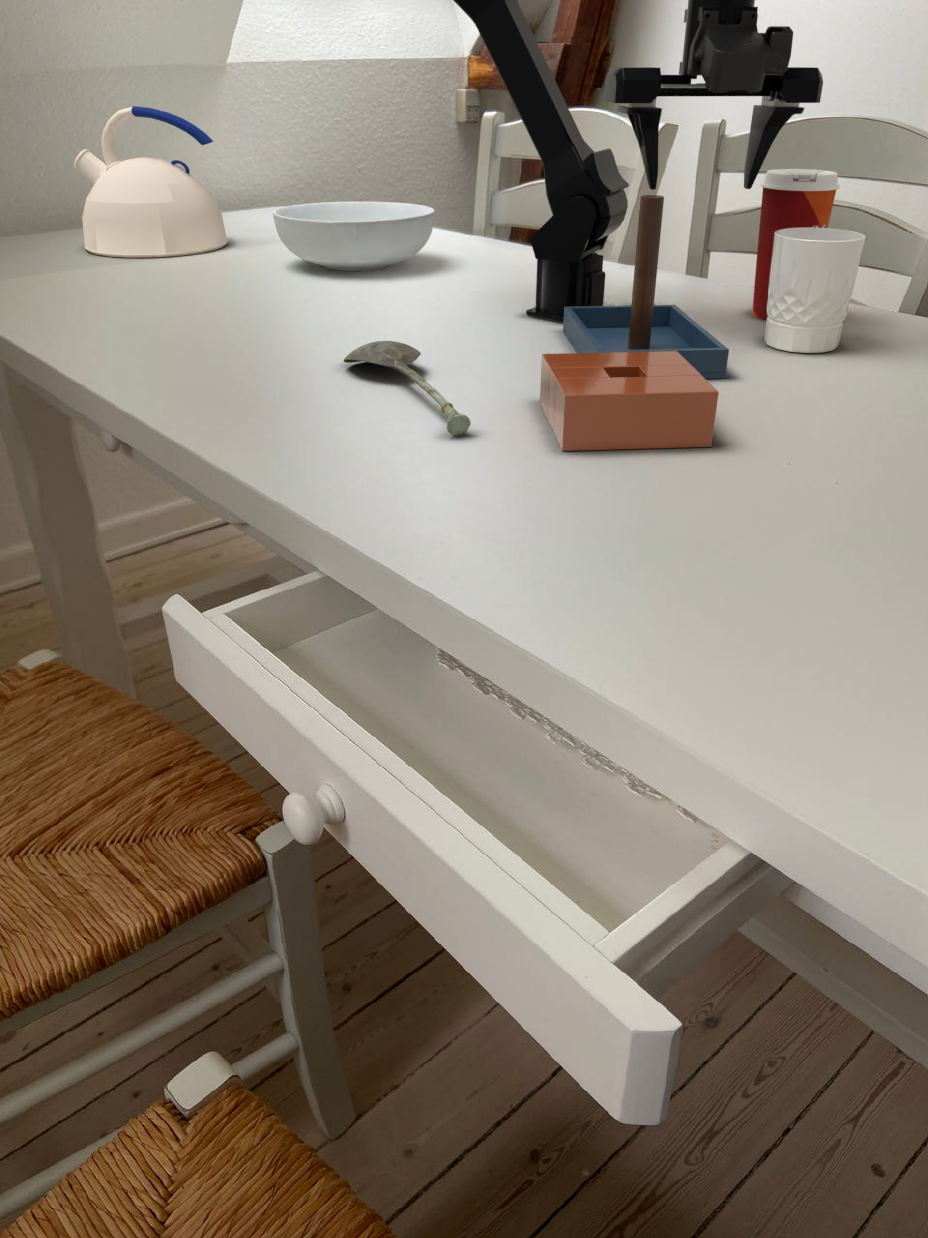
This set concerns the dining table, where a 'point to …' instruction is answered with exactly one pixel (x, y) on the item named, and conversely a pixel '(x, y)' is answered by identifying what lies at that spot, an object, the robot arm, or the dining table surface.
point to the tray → (668, 333)
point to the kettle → (147, 199)
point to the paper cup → (789, 216)
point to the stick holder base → (626, 401)
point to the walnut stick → (645, 271)
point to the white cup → (811, 287)
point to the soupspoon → (398, 359)
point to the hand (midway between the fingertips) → (700, 188)
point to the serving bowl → (354, 232)
